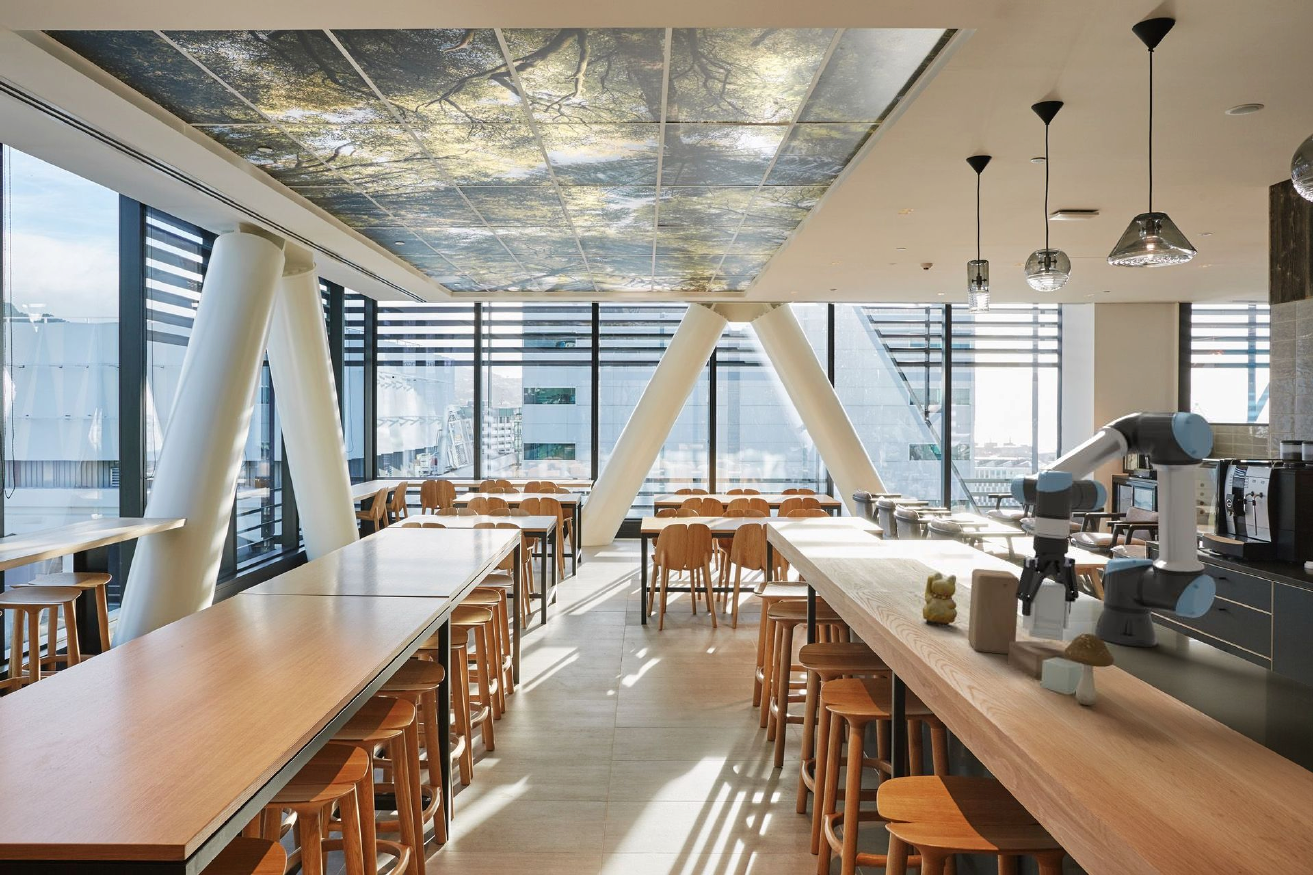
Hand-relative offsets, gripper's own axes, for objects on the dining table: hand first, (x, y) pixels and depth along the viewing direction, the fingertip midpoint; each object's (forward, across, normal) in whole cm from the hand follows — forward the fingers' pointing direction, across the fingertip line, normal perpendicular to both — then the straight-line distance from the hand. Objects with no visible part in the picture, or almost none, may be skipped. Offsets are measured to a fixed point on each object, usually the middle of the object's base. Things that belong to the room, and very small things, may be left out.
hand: (1045, 628), depth 193 cm
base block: (+11, 0, 0) cm, 11 cm away
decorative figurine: (+11, -5, -43) cm, 45 cm away
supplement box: (+2, 0, 0) cm, 2 cm away
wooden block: (+11, -2, -19) cm, 22 cm away
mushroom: (+11, +10, +21) cm, 26 cm away
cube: (+11, +6, +11) cm, 16 cm away
